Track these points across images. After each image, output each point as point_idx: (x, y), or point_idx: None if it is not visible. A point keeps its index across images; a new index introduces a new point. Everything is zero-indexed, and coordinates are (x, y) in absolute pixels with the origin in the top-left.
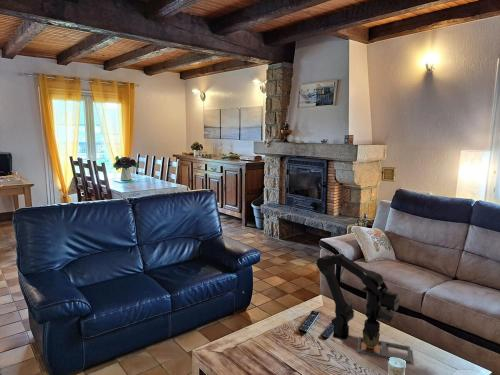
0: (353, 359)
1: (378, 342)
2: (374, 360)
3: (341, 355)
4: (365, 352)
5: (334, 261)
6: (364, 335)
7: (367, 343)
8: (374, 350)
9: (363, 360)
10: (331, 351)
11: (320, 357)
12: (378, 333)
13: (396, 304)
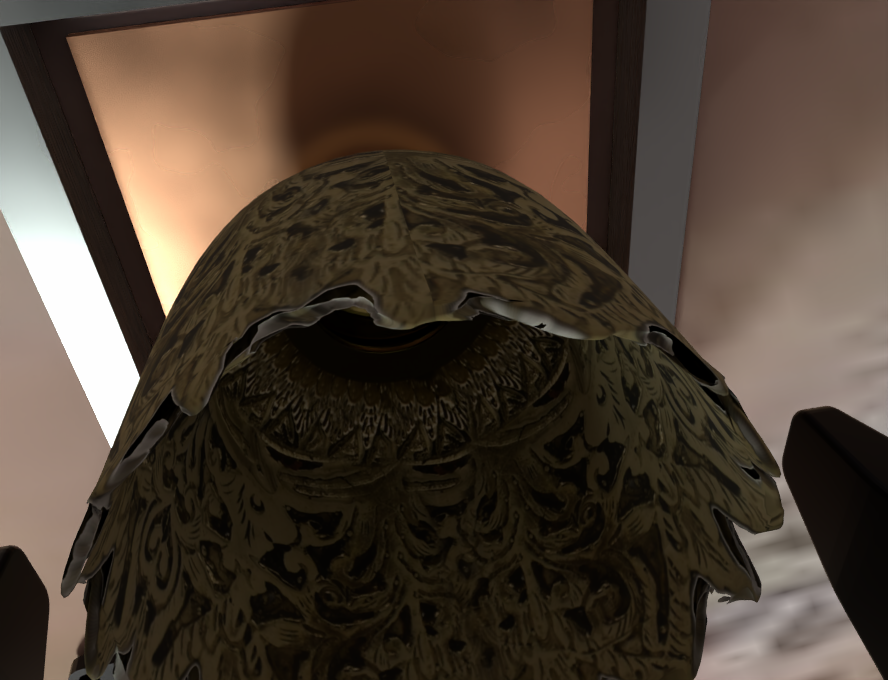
0: (854, 397)
1: (42, 105)
2: (830, 60)
3: (779, 540)
4: (671, 296)
5: None
6: (620, 631)
7: (593, 393)
8: (448, 132)
9: (861, 259)
10: (714, 640)
11: (864, 672)
12: (242, 341)
13: None
